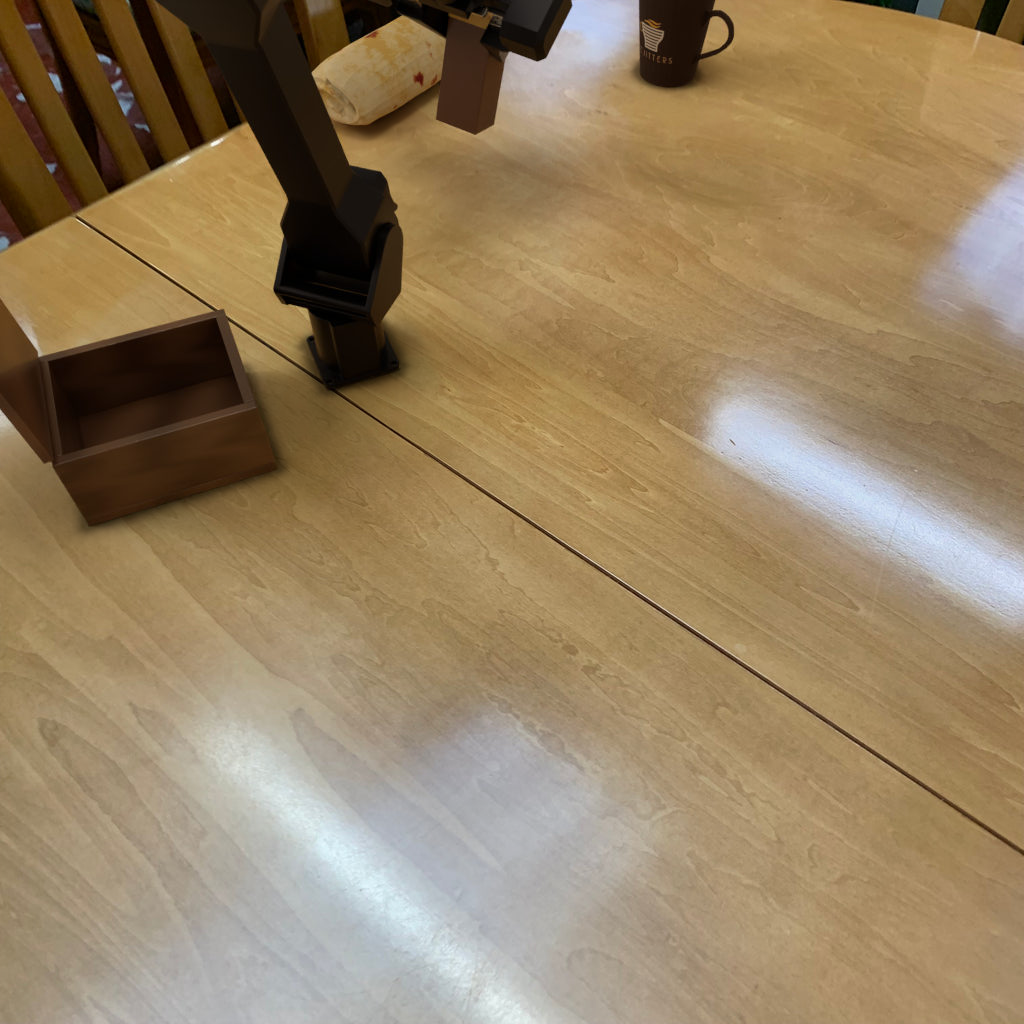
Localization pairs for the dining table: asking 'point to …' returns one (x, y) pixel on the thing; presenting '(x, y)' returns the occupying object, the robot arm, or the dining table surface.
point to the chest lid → (23, 386)
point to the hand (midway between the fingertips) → (482, 49)
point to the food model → (380, 72)
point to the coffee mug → (675, 39)
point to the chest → (152, 417)
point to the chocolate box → (468, 77)
